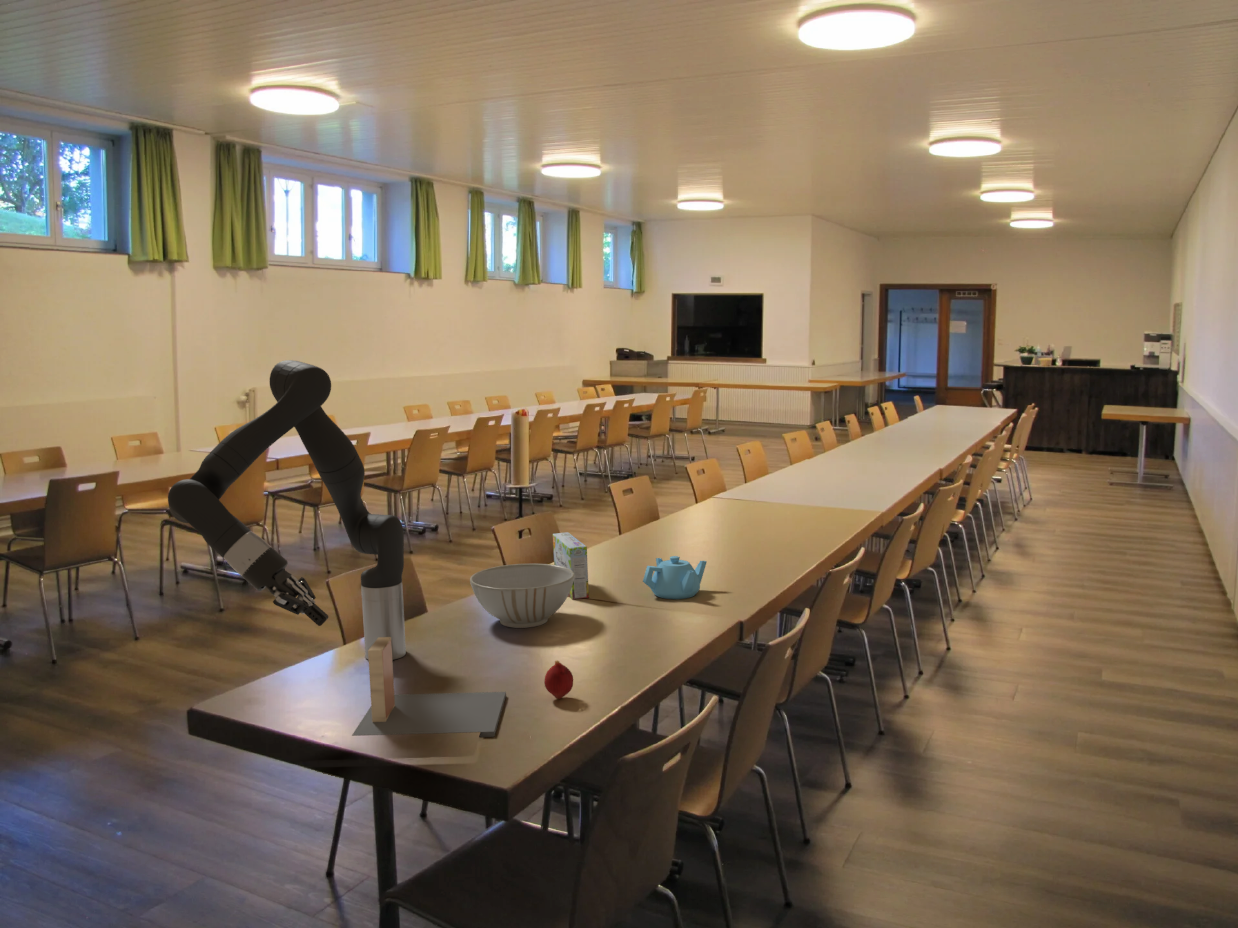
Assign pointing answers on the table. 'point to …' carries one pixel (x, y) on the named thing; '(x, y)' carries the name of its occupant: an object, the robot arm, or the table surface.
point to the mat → (439, 714)
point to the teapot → (674, 578)
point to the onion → (558, 680)
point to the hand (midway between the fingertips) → (324, 621)
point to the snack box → (572, 562)
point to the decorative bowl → (522, 592)
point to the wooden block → (381, 679)
